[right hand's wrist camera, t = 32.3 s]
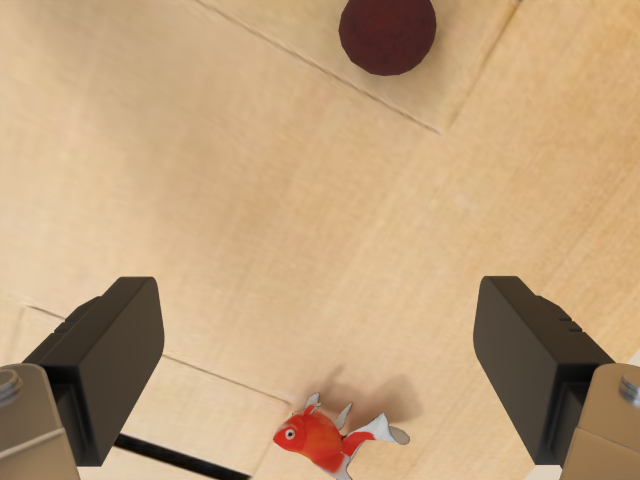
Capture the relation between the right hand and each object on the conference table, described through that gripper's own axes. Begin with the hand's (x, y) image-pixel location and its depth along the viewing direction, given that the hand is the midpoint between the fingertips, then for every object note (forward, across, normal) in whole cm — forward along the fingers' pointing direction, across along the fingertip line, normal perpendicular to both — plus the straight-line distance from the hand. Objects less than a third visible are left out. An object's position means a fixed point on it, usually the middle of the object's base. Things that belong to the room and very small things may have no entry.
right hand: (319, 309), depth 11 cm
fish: (+34, +3, -33) cm, 47 cm away
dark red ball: (+34, +5, +9) cm, 35 cm away
